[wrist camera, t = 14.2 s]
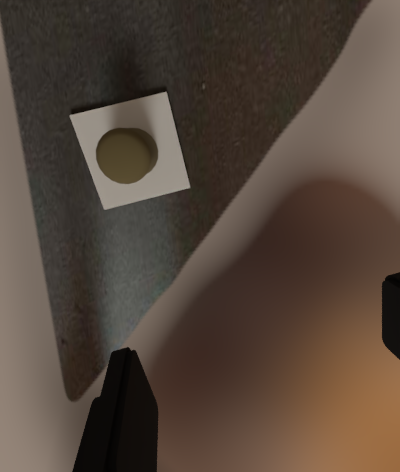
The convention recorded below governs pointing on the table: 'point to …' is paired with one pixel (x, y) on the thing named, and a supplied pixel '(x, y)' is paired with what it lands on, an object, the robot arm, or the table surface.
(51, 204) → the table surface
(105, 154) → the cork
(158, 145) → the tile
